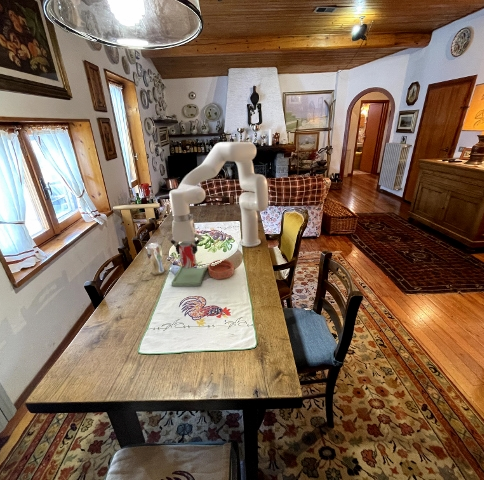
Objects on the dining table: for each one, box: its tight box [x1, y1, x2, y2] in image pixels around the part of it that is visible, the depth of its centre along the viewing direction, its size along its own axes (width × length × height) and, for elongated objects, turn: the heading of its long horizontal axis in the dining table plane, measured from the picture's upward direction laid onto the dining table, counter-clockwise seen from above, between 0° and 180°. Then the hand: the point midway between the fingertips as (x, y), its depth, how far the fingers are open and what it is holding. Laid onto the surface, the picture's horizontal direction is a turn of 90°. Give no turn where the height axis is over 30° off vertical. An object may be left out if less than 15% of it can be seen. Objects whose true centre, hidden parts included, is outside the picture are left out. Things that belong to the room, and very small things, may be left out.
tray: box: [171, 265, 208, 287], centre depth 124 cm, size 17×13×2 cm
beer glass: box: [145, 242, 165, 276], centre depth 127 cm, size 7×7×15 cm
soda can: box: [179, 242, 197, 269], centre depth 120 cm, size 7×7×12 cm
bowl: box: [207, 259, 235, 280], centre depth 125 cm, size 12×12×4 cm
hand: (187, 252), depth 119 cm, fingers closed on soda can, 7 cm apart
